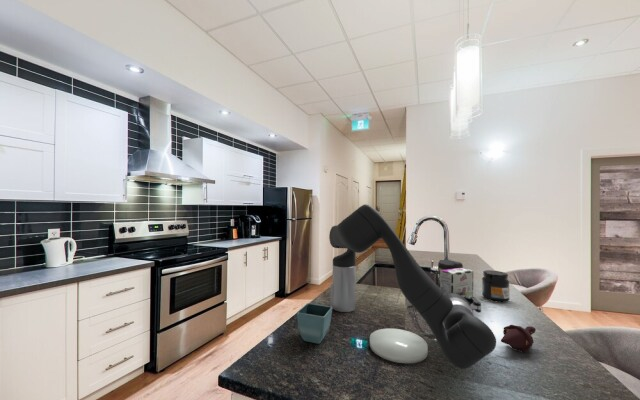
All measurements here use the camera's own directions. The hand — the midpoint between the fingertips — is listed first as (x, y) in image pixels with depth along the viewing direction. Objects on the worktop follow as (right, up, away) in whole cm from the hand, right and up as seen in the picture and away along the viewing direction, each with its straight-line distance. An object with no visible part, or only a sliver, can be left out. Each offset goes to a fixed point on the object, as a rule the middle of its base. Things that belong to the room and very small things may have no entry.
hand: (449, 293), depth 84 cm
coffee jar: (+14, -15, +28) cm, 35 cm away
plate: (-19, -13, -8) cm, 24 cm away
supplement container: (+39, -15, +36) cm, 55 cm away
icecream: (+15, -13, -8) cm, 22 cm away
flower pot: (-43, -13, -4) cm, 45 cm away
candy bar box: (+3, -10, +1) cm, 10 cm away
